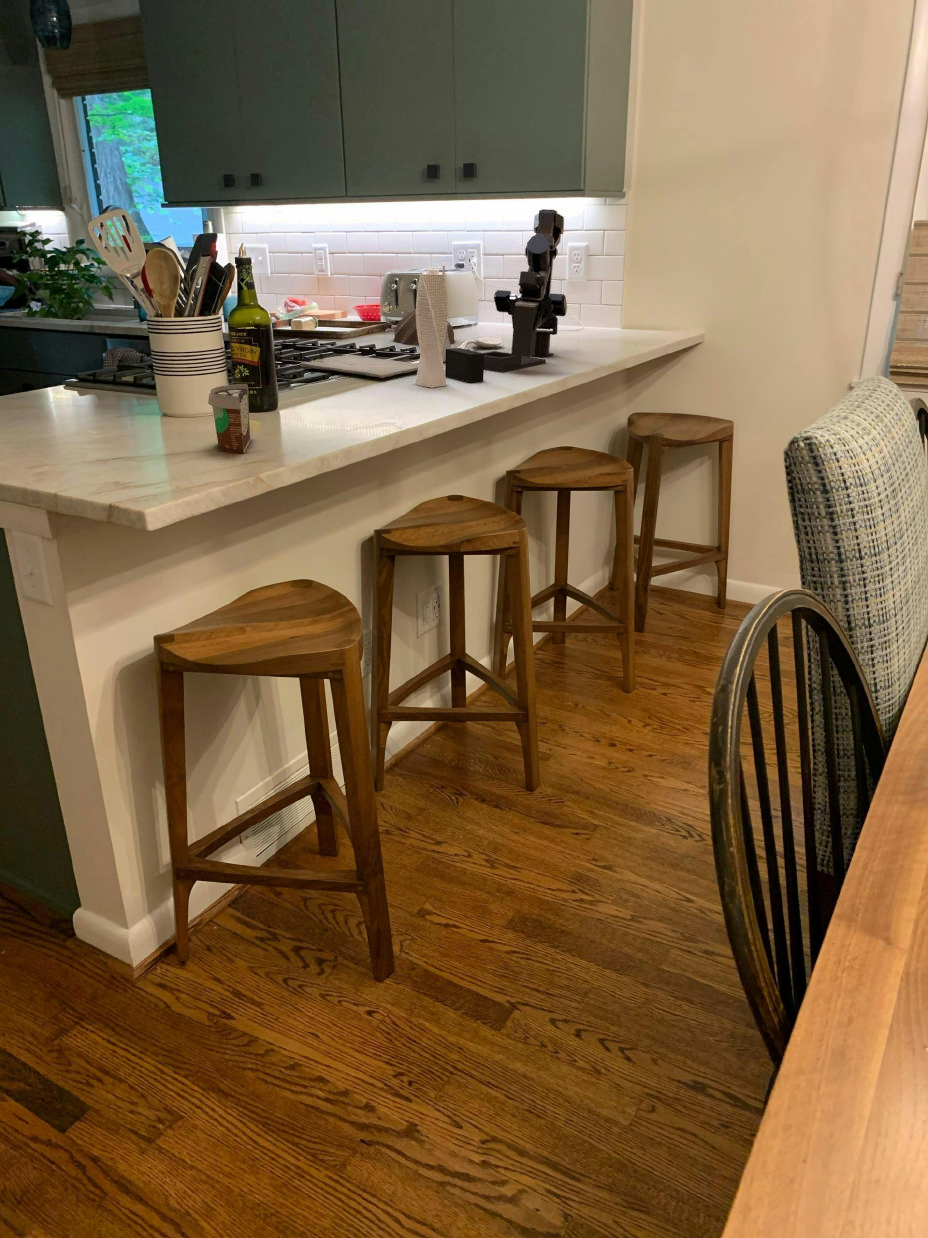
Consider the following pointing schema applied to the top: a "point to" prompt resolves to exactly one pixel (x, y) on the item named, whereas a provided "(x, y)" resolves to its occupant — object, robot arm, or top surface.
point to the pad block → (524, 329)
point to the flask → (445, 345)
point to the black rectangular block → (464, 365)
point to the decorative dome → (413, 330)
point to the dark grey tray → (508, 361)
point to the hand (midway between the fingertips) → (523, 329)
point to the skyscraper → (431, 327)
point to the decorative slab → (362, 365)
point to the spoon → (483, 342)
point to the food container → (231, 417)
